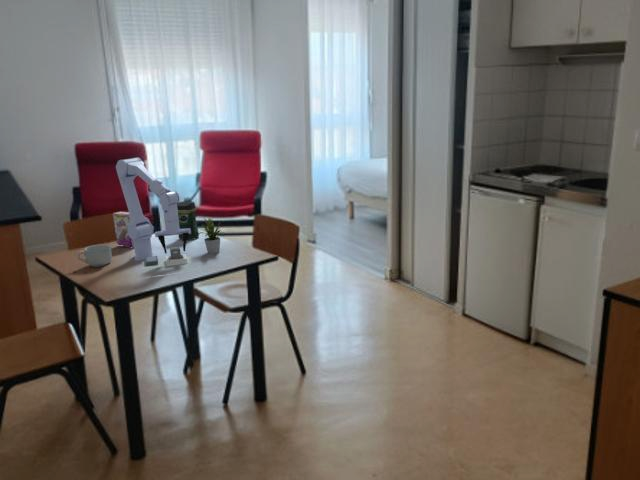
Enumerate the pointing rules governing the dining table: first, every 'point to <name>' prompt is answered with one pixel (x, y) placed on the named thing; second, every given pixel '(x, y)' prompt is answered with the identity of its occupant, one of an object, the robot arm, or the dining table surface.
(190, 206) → the coffee jar
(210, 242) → the house plant
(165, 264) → the outlet plate
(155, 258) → the phone slab
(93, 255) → the teacup
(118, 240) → the candy bar box
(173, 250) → the plug
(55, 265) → the dining table surface
